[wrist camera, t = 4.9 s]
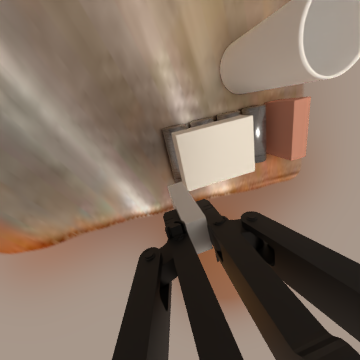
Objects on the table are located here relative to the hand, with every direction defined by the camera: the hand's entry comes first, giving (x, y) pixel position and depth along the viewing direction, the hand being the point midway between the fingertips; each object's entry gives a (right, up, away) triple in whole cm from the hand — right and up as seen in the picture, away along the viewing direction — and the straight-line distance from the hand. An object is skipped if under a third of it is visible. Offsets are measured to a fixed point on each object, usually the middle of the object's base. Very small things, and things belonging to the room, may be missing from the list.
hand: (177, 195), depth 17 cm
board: (+5, +7, +12) cm, 15 cm away
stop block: (+19, +12, +18) cm, 29 cm away
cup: (+11, +21, +13) cm, 27 cm away
